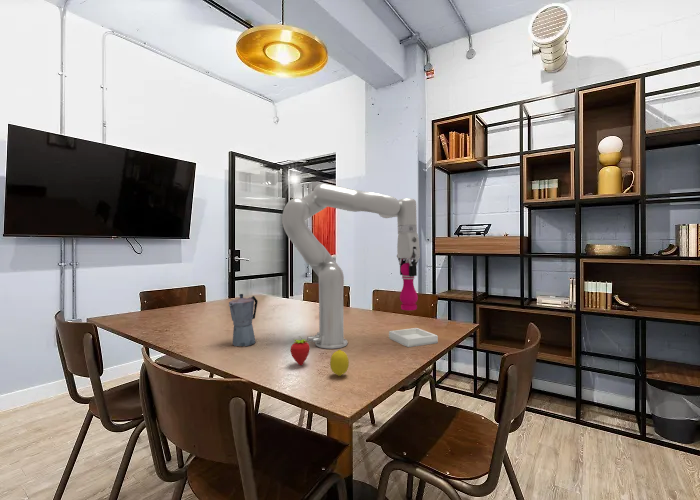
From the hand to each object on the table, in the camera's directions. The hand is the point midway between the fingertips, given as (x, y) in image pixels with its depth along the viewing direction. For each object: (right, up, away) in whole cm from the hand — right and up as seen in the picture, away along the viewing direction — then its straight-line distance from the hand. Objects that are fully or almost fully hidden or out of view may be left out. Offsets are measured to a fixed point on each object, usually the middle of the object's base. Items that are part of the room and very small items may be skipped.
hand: (408, 274), depth 141 cm
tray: (+2, -27, +3) cm, 27 cm away
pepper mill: (0, -14, 0) cm, 14 cm away
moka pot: (-65, -27, 0) cm, 71 cm away
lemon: (-26, -28, -35) cm, 52 cm away
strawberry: (-39, -28, -26) cm, 55 cm away
